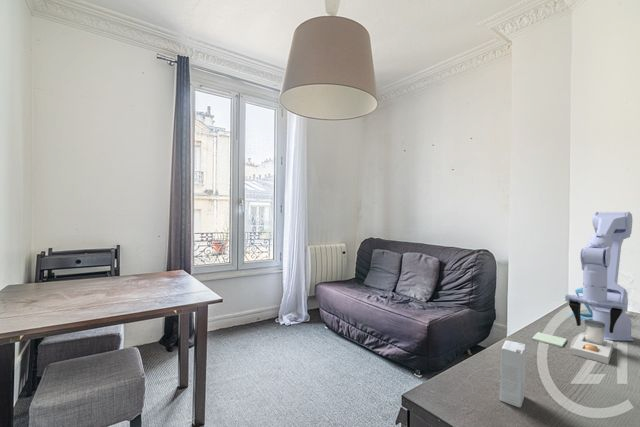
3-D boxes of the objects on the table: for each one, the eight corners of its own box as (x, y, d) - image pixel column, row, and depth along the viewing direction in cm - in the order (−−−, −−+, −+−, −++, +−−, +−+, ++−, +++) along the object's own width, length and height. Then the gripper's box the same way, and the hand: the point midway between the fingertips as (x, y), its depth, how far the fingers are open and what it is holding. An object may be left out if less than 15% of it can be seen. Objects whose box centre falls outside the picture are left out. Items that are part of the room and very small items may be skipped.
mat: (537, 333, 108) (537, 331, 108) (566, 340, 102) (566, 338, 102) (531, 339, 102) (531, 338, 102) (561, 347, 96) (561, 345, 96)
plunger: (585, 350, 93) (585, 343, 93) (597, 353, 91) (598, 346, 91) (584, 353, 91) (584, 345, 91) (596, 356, 89) (596, 348, 89)
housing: (580, 339, 102) (580, 333, 102) (613, 347, 96) (613, 341, 96) (571, 354, 91) (571, 347, 91) (608, 364, 86) (608, 357, 86)
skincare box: (503, 389, 73) (504, 338, 73) (526, 396, 70) (526, 343, 70) (498, 401, 68) (499, 347, 68) (522, 409, 65) (523, 353, 65)
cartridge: (595, 344, 99) (596, 319, 99) (609, 351, 94) (609, 325, 94) (580, 344, 99) (580, 319, 99) (593, 350, 94) (593, 324, 94)
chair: (606, 320, 122) (607, 290, 122) (589, 321, 120) (589, 291, 120) (587, 313, 129) (587, 285, 129) (570, 314, 128) (570, 286, 128)
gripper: (563, 283, 99) (563, 325, 99) (626, 292, 88) (626, 338, 88) (567, 280, 104) (567, 320, 104) (628, 288, 93) (627, 332, 93)
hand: (594, 328), depth 96 cm, fingers open, 7 cm apart
